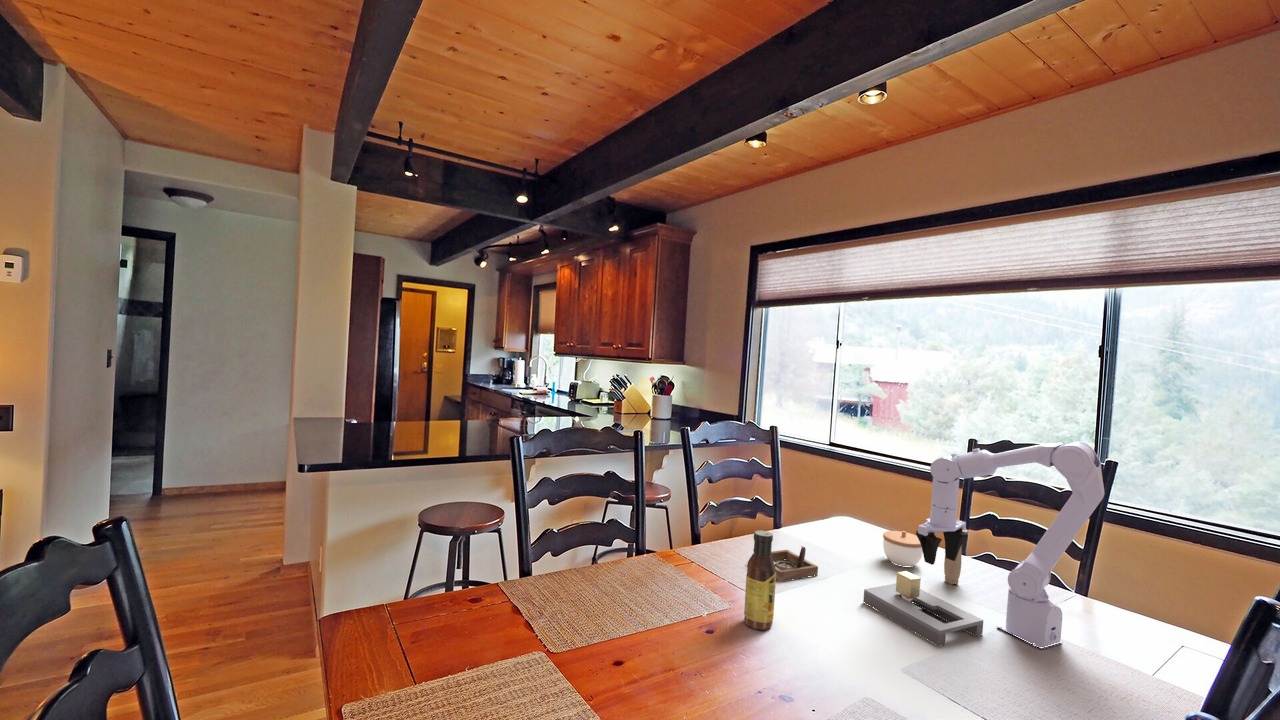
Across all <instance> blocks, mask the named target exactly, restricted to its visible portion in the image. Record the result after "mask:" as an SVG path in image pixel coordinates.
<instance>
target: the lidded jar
mask: <svg viewBox="0 0 1280 720" xmlns="http://www.w3.org/2000/svg"><path fill="white" fill-rule="evenodd" d="M882 537H883V541H882V544H883V551H884V552H883V553H884V554H885V556H886V558H887V559H888V560H889V562H890V561H891V562H893V563H895V564H897V565H901V566H913V567H914V566H915V565H917V564H918V563H919V562H920V560H921V559H922V557H923V550H922V547H921V544H920V541H919V539H918V537H917V535H916V534H913V533H911V532H907V531H905V530H902V531H899V530H887V531H885V532H883V535H882ZM891 562H890V563H891Z"/></svg>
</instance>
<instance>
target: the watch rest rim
mask: <svg viewBox="0 0 1280 720" xmlns="http://www.w3.org/2000/svg"><path fill="white" fill-rule="evenodd" d="M771 552H772V553H771V554H772V558H773V561H775V562H780V560H782V561H785V560H784V559H787V560H789V561H791V562H792V564H793V563H794V564H796V565H797V564H798V562H799V561H798V559H799V555H798V554H797V553H795V552H792V551H791V550H789V549H782V550H775V551H771ZM752 555H753V553H752V554H751V556H752ZM787 560H786V561H787ZM789 561H788V562H789ZM791 562H790V563H791ZM796 565H795V566H796ZM775 569H776V581H778V582H780V583H782V582H788V581H787V580H789V581H793V580H792V579H795V580H798V579H797V578H801V579H803V578H802V577H807V578H809V577H808V576H813V577H815V576H814V575H817V576H818V572H819V571H818V570H819V566H818V565H816V564H814V563H812V562H811V561H809V560H807V559H806V558H804V562H803V566H802V567H800V568H793V569H787V570H780V569H779V568H777V567H775Z"/></svg>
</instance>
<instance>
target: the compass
mask: <svg viewBox="0 0 1280 720" xmlns="http://www.w3.org/2000/svg"><path fill="white" fill-rule="evenodd" d="M800 547H801V548H800V550H799V555H798V556H799V559H798V561H799V562H798V564H797V566H796V565H794V564H793V563H791V562H789V561H786V560H782V561H776V562H774V565H775V567H777V568H779V569H780V570H787V569H793V568H800V567H802V566H803V562H804V559H806V547H805V546H801V545H800Z"/></svg>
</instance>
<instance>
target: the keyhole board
mask: <svg viewBox="0 0 1280 720" xmlns="http://www.w3.org/2000/svg"><path fill="white" fill-rule="evenodd" d="M901 595H902V594H900V593H898V592H896V582H895V583H890V584H885V585H880V586H876V587H869V588H864V591H863V602H865V603H866V604H868V605H870V606H871V607H874V608H875V609H877V610H878V611H880V612H882V613H883V614H882V613H881V614H882V615H884V614H885V615H886V616H885V615H884V616H885V617H887V618H889V619H890V618H891V620H892V619H893V620H892V621H894V622H896V623H897V622H898V624H899V623H900V625H901V626H902V627H904V626H905V627H904V628H906V629H908V628H909V629H910V631H911V630H912V631H911V632H913V631H914V632H913V633H915V632H916V633H917V635H918V634H919V635H918V636H920V635H921V636H920V637H922V638H923V637H924V638H923V639H925V638H926V639H925V640H927V639H928V640H929V641H928V640H927V641H928V642H930V641H931V642H930V643H932V642H933V643H932V644H934V645H935V644H936V645H935V646H937V645H938V646H937V647H941V645H942V646H944V644H945V645H946V641H947V640H946V639H947V633H948V634H949V633H951V632H956V631H960V630H963V629H964V630H963V631H965V630H966V631H965V632H967V631H968V632H967V633H969V632H970V633H969V634H971V633H972V634H971V635H973V634H974V635H980V634H982V635H983V631H984V619H982V618H980V617H977V616H976V615H974V614H972V613H971V612H968V611H966V610H964V609H962V608H960V607H958V606H956V605H954V604H953V603H951V602H948V601H945V600H944V599H942V598H939V597H937V596H935V595H933V594H931V593H930V592H927V591H925V590H923V589H921V588H920V592H919V597H916V598H913V602H914V603H916V604H918V605H919V606H921V607H923V608H925V609H926V610H925V609H924V610H925V611H927V610H928V611H927V612H929V611H930V612H929V613H931V612H932V613H931V614H933V613H934V614H936V615H938V616H939V617H938V616H937V617H938V618H940V617H941V618H940V619H942V618H943V619H942V620H944V619H945V620H944V621H946V620H947V621H946V622H947V623H944V622H942V621H940V620H938V619H936V618H934V617H933V616H931V615H929V614H927V613H925V612H923V608H921V607H919V606H917V605H915V604H914V603H911V602H909V601H907V600H905V599H903V598H901ZM865 603H864V604H865ZM866 604H865V605H866ZM868 605H867V606H868ZM870 606H869V607H870ZM871 607H870V608H871ZM875 609H874V610H875ZM877 610H876V611H877ZM878 611H877V612H878ZM880 612H879V613H880ZM934 614H933V615H934ZM936 615H935V616H936ZM948 621H949V622H948ZM909 629H908V630H909ZM916 633H915V634H916ZM974 635H973V636H974ZM980 636H981V635H980Z"/></svg>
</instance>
